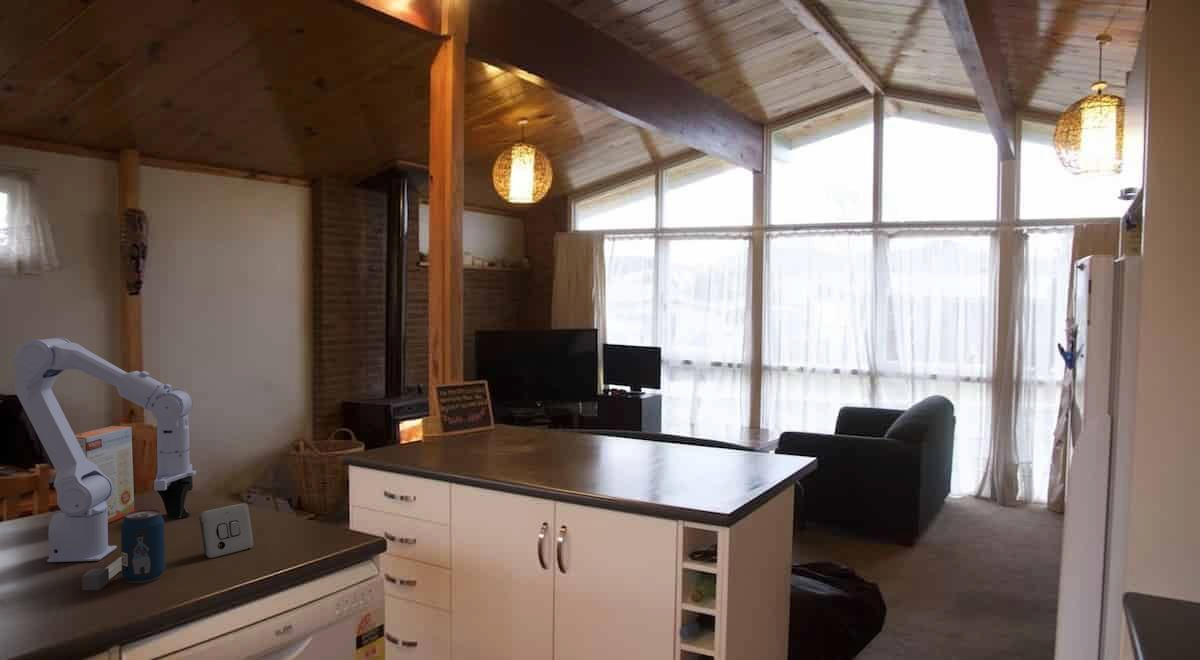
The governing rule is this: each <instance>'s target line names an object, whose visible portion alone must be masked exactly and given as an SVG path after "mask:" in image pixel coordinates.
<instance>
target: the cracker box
mask: <svg viewBox="0 0 1200 660" xmlns="http://www.w3.org/2000/svg"><path fill="white" fill-rule="evenodd" d="M132 433H133V431H132V426H123V425H122V426H121V425H120V426H119V425H111V426H107V427H101V428H98V429H93V430H89V431H84V432H81V433H77V434H74V435H75V437H76V439H77V441H78V443H79V445H80V447H81V448H82V450H83V452H84V454H85V456H86V458H87V460H89V461H90V462H92V463H94V464H96V465H97V466H98V468H99V470H100V471H101V472H102V473H103V474H104V475H105V476H107V477H108V478H109V479H110V480H111V482H112V485H113V491H112V494H111V496H110V497H109V498H108V499H107V500H106V502H107V517H108V524H109V523H111V522H112V523H113V522H115V521H117V520H120V519H123V518H125V515H126V514H128V513H130V512H134V511H135V492H134V468H133V467H134V464H133V463H134V462H133V461H134V460H133V435H132Z"/></svg>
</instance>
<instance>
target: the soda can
mask: <svg viewBox="0 0 1200 660" xmlns="http://www.w3.org/2000/svg"><path fill="white" fill-rule="evenodd" d="M120 541H121V553H120V554H121V556H122V570H121V575H122V577H123V578H124V580H125V581H126V582H128V583H130V584H142V583H148V582H153V581H155V580H157V579H159V578H160V577H161V576H162V574H163V573H164V571H165V569H166V556H165V553H166V550H165V549H166V546H165V542H166V541H165V520H164V517H163V516H162V514H161V511H160V510H158V509H140V510H139V509H138V510H134V512H130V513H128V514H126V515H125V517H124V519H123V521H122V523H121V525H120Z"/></svg>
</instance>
